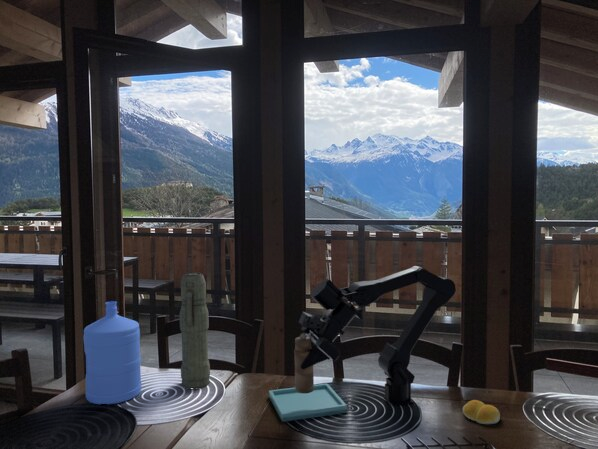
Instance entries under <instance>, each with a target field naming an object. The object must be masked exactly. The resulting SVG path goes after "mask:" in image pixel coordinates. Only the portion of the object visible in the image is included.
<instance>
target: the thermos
mask: <svg viewBox="0 0 598 449" xmlns="http://www.w3.org/2000/svg"><path fill="white" fill-rule="evenodd" d="M180 297H181V298H180V300H181V305H180V306H181V307H180V310H179V329H180V332H181V355H182V356H181V357H182V358H181V359H182V363H181V366H180V378H181V386H183V387H182V388H184V387H185V388H184V389H186V388H194V389H193V390H197V389H196V388H200V389H203V388H202V387H204V388H206V387H208V386H209V385H210V375H211V364H210V360H209V348H208V346H209V345H208V330H209V327H210V326H209V323H210V322H209V321H210V320H209V319H210V318H209V310H208V306H207V302H206V301H207V300H206V299H207V282H206V279H205V276H204V274H203V273H201V272H187V273H185V274H184V275H183V276H182V278H181V282H180ZM208 384H209V385H208ZM207 385H208V386H207ZM205 386H206V387H205Z"/></svg>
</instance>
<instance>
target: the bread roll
mask: <svg viewBox="0 0 598 449" xmlns="http://www.w3.org/2000/svg"><path fill="white" fill-rule="evenodd" d="M462 414H463V415H464V416H465V417H466V418H467V419H469V420H470V419H471V421H474V422H476V423H478V424H482V425H493V424H497V423H498V422H499V421H500V417H501V413H500V410H499V409H498V408H497V407H495V406H494V405H493V404H485V403H484V402H483V401H481V400H478V399H472V400H470V401H468V402H467V403H465V405H463V407H462Z"/></svg>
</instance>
